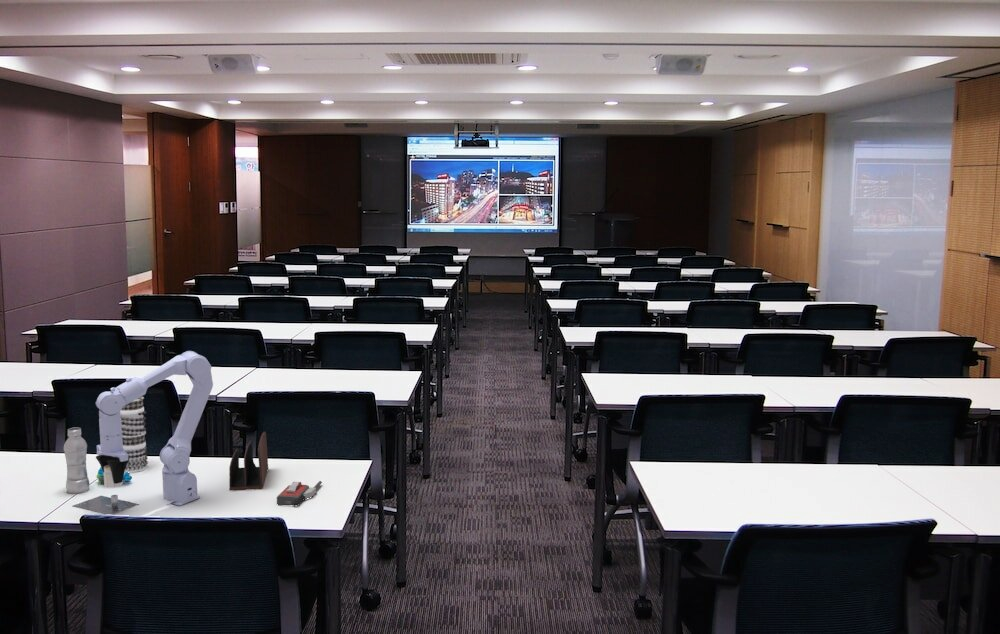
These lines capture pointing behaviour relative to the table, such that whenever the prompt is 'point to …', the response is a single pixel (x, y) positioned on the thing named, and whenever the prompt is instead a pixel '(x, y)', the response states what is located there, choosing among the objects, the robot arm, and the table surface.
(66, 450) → the plastic bottle
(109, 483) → the knob
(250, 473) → the letter holder
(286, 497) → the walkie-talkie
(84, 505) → the flat rectangular plate
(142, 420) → the decorative candle
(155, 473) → the table surface
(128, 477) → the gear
